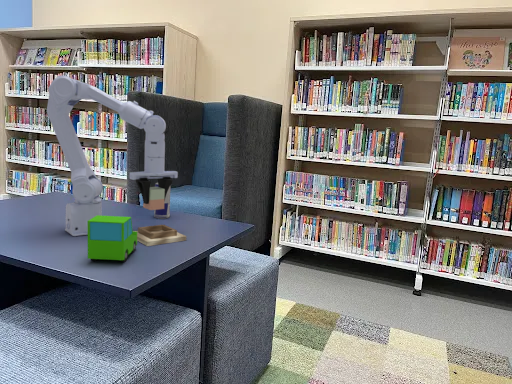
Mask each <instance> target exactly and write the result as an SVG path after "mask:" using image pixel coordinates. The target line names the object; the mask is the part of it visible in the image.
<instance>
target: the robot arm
mask: <svg viewBox="0 0 512 384" xmlns="http://www.w3.org/2000/svg"><path fill="white" fill-rule="evenodd" d="M47 91H48V100H47V105H46V106H47V108H46V112H47V113H46V114H47V116H48V119H49V121H50V124H51V126H52V129H53V131H54V133H55V136H56V139H57V142H58V143H59V146H60V148H61V151H62V153H63V156H64V158H65V160H66V163H67V166H68V168H69V170H70V172H71V173H70V181H71V184H72V190H71V191H72V196H73V198H74V201H73V202H70V203H69V202H68V203H66V205H65V229H64V230H65V232H67V233H68V234H70V235H71V236H72V237H76V236H78V237H79V236H85V235H86V236H88V220H90V219H92V218H93V217H95V216H97V215H100V216H103V215H102V213H103V212H102V211H103V209H102V198H101V197H100V195H101V194H102V192H103V191H104V185H103V183H102V181H101V180H100V179H99V178H98V177H97V176H96V173H95V171H94V170H93V169H92V168H91V167H90V165H89V163H88V160H87V157H86V155H85V152H84V150H83V146H82V145H81V142H80V139H79V137H78V134H77V132H76V129H75V127H74V125H73V122H72V119H71V117H70V113H71V112H72V110H73V108H74V106H75V105H76V104H77V103H79V102H80V101H81V100H86V101H87V100H91V101H94V102H96V103H99V104H101V105H103V106H104V107H106V108H108V109H111V110H113V111H115V112H117V113H118V115H119V119H121V120H122V121H124V122H126V123H127V124H130V125H132V126H134V127H136V128H137V129H140V130H142V129H143V130H144V132H145V140H144V171H143V170H142V171H134V172H133V171H131V172H129V179H130V180H133V181H135V183H136V185H137V186H138V188H139V190H140V194H141V198H142V202H143V203H145V204H149V190H150V187H151V184H152V182H151V181H150V180H151V179H156V180H157V183H158V186H159V187H160V188H163V189H165V194H164V201H165V198H166V194H167V191H168V189H169V187H170V186H172V184H173V179H178V177H179V176H178V175H179V173H178V171H176V170H165V159H166V157H165V156H166V155H165V154H166V142H165V141H166V140H165V138H166V136H165V132H166V128H167V124H166V121H165V120H164V118H163V117H161V116H160V115H158V114H157V115H156V114H155V115H154V113H155V112H154V111H153V110H148V109H146V108H144V107H142V106H140V105H139V102H137V101H135V100H133V101H130V100H128V101H125V102H124V101H123V102H122V101H121V100H119V99H117V98H116V97H114V96H112V95H110V94H108V93H106V92H105V91H104V90H101V89H100V88H97V87H96V86H94V85H91V84H89V83H86V82H83V81H80V80H77V79H75V78H71V77H70V76H67V75H59V76H57V77H55V78H54V79H53V80H52V82H51V83H50V84H49V86H48V89H47ZM149 179H150V180H149ZM170 188H171V187H170ZM143 203H142V204H143Z"/></svg>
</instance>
